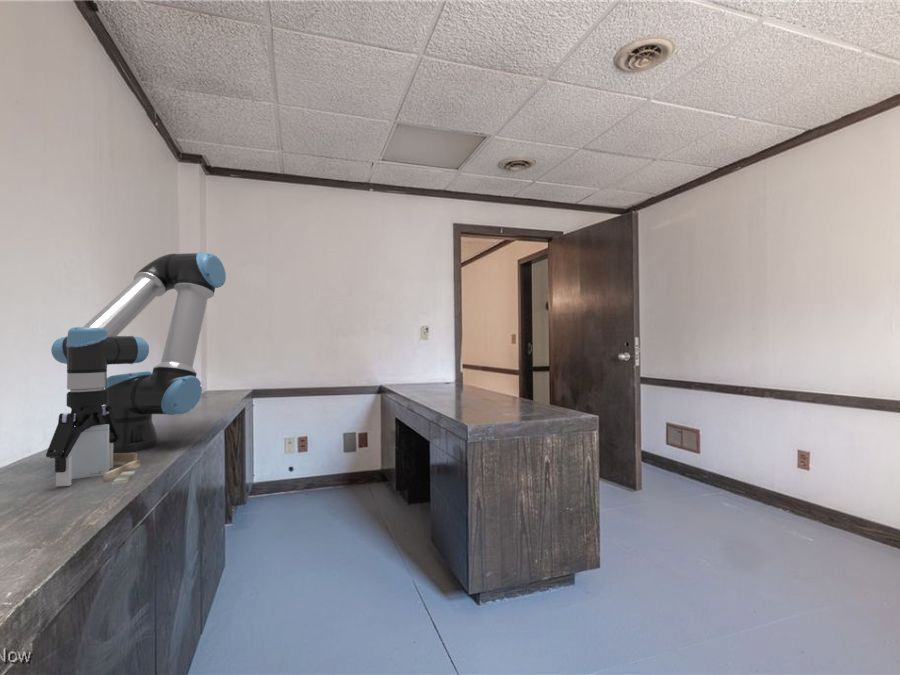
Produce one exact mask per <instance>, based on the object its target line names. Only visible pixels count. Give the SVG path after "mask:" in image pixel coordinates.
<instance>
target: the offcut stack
mask: <svg viewBox="0 0 900 675" xmlns="http://www.w3.org/2000/svg"><path fill="white" fill-rule="evenodd" d="M135 474H136V470H131V471H128V472H122V473H121V474H120V475H119V476H118V477H117V478H115V479H113V482H112V483H111V484H112V485H118V484H119V483H121V484H127V483H128V482H129V481H130V480H132V478H133V476H135ZM119 485H120V484H119Z"/></svg>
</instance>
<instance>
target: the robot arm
mask: <svg viewBox="0 0 900 675" xmlns="http://www.w3.org/2000/svg"><path fill="white" fill-rule="evenodd" d="M226 277H227V276H226V270H225V267H224V264H223V262H222V260H221V259H220V258H219V257H218V256H217V255H215V254H214V253H210V252H195V253H192V252H191V253H170V254H164V255H163V256H160V257H158V258H156V259H154V260H152V261H151V262H149V263H147V264H146V265H145V266H143V267H142V268H141V269H140V270H138V272H136V273H135V274H134V276H133V281H132V282H131V283H130V284H128V285H127V286H126V287H125V288H124V289H123V290H122V291H121V292H120V293H119V294H118V295H116V296H115V297H113V299H112V300H111V301H110V302H109V303H107V304H106V305H105V306H104V307H103V308H102V309H101V310H100V311H98V313H97V314H95V315H94V316H93V317H92V318H91V319H90V320H89V321H88V322H87V323H85V325H83V326H81V327H80V326H76V327H71V328H70V329H68V331H67V335H65V336H62V337H60V338H58V339H56V340H55V341H54V342H53V343H52V346H51V350H50V351H51V355H52V357H53V358H54V360H56V361H57V362H59V363H61V364H66V375H67V376H66V389H67V390H69V391H68V392H66V407H68V408H70V409H71V410H70V412H69V413H67V412H66V413H59V414H58V420H57V421H58V423H57V425H56V429H55V431H54V433H53V436H52V439H51V440H50V443H49V446H48V448H47V451H46V453H45V456H46V458H49V459H54V472H55V487H69V486H72V479H71V457H72V456H71V457H68V455H69V453H70V452H71V450H72V448H73V446H74V445H75V443H76V441H77V439H78V438H79V436H80V434H81V433H82V432H83V431H85V429H88V428H90V427H91V426H95V425H104V424H109V469H113V468H114V465H113V453H135V452H138V451H143V450H147V449H151V448H155V447H156V446H158V445H159V443H160V442H159V440H160V439H159V435H158V432H157V430H156V428H155V426H154V423H153V415H169V416H175V415H183V414H187V413H189V412H190V411H192V410H193V409H194V408H195V407H196V406H197V405H198V403H199V402H200V400H201V396H202V391H203V388H202V383H201V380H200V379H199V378H198V377H197V371H196V370H195V369H194V364H195V363H194V362H195V357H196V353H197V349H198V346H199V345H198V344H199V339H200V335H201V331H202V326H203V322H204V318H205V312H206V310H207V309H206V308H207V304H208V300H209V299H211V298H212V297H214V295H215V290H216V289H219V288H221V287H223V286H224V285H225V283H226ZM173 289H174V290H175V291H176V293H177V296H176V300H175V304H174V307H173V310H172V315H171V320H170V324H169V328H168V332H167V336H166V341H165V344H164V348H163V352H162V357H161V360H160V363H159V364H157V365H156V366H153V369H152V371H149V370H148V371H139V372H137V371H136V372H129V373H122V374H114V375H110V376H108V366H109V365H127V364H129V365H133V364H138V363H142V362H143V361H145V360H146V359H147V357H148V356H149V353H150V346H149V344H148V342H147V340H145V339H144V338H142V337H141V336H133V335H128V336H127V335H119V334H120V333H122V332H123V331H124V329H126V327H128V325H130V324H131V323H132V322H133V320H135V319H136V317H138V315H139V314H141V312H142V311H144V310H145V308H147V306H148V305H150V304H151V302H152V301H153V300H155V299H156V298H157V297H162V296H163V295H164V294H165V293H166V292H168V291H170V290H173Z"/></svg>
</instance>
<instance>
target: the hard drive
mask: <svg viewBox="0 0 900 675" xmlns="http://www.w3.org/2000/svg"><path fill="white" fill-rule="evenodd" d="M71 456H72V457H71ZM68 457H71V480H77V479H83V478H84V479H85V478H91V477H92V478H93V477H100V476H104V473H106V472H109V471H110V468H109V424H104V425H95V426H91V427H90V428H88V429H85V431H83V432H82V433H81V434H80V436H79V438H78V439H77V441H76V443H75V445H74V446H73V448H72V450H71V452H70V453H69V455H68Z"/></svg>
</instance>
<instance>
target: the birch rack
mask: <svg viewBox="0 0 900 675" xmlns="http://www.w3.org/2000/svg"><path fill="white" fill-rule="evenodd" d="M141 462H142V461H141V459H138V452H126V453H113V466H114V465H115V466H119V467H115V468H114V469H113V468H112V469H111V470H109V472H106V473H104V475H103V483H108V482H111V481H112V480H113V481H114V480H115V479H116V478H117V477H118V476H119V475H120V474H121V473H122V472H128V471H134V470H135V469H137V468H139V467H141Z"/></svg>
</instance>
